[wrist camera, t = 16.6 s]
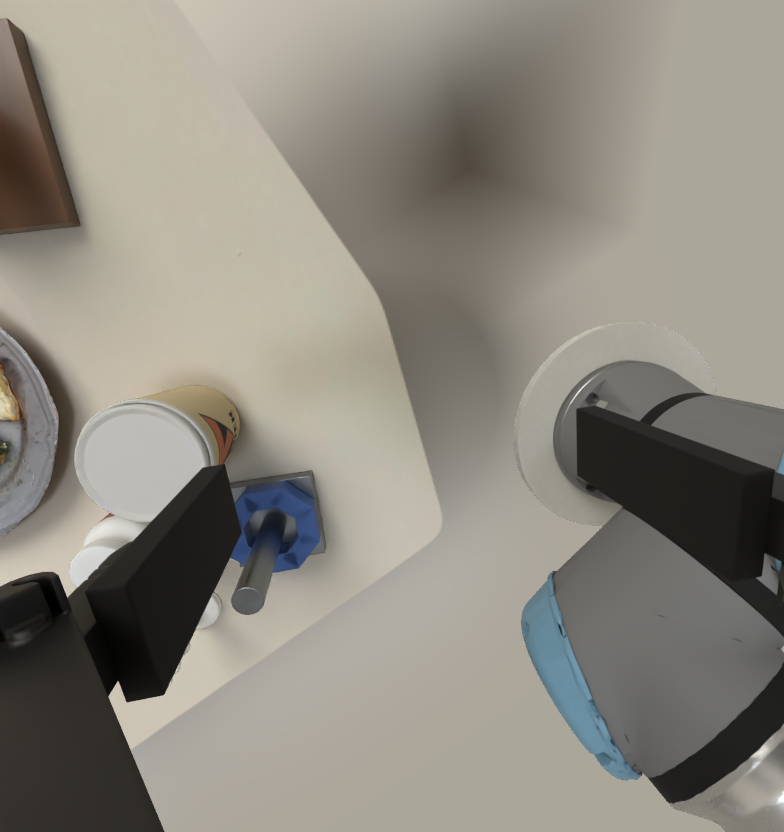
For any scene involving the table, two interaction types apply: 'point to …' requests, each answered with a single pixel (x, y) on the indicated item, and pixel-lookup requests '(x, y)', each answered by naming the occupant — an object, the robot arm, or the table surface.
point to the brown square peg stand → (27, 147)
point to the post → (268, 542)
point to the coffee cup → (153, 448)
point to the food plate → (23, 434)
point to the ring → (291, 504)
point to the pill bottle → (103, 545)
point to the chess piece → (207, 618)
